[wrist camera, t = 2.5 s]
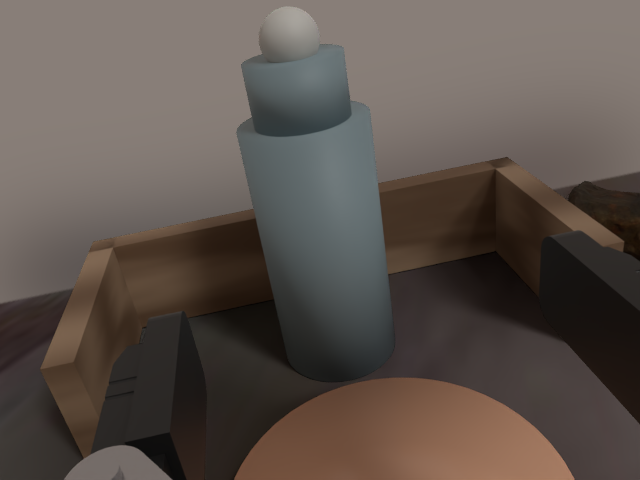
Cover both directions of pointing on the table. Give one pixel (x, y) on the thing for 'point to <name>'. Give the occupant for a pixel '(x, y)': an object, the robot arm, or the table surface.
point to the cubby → (252, 275)
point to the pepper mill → (316, 202)
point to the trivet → (403, 437)
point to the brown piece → (612, 212)
